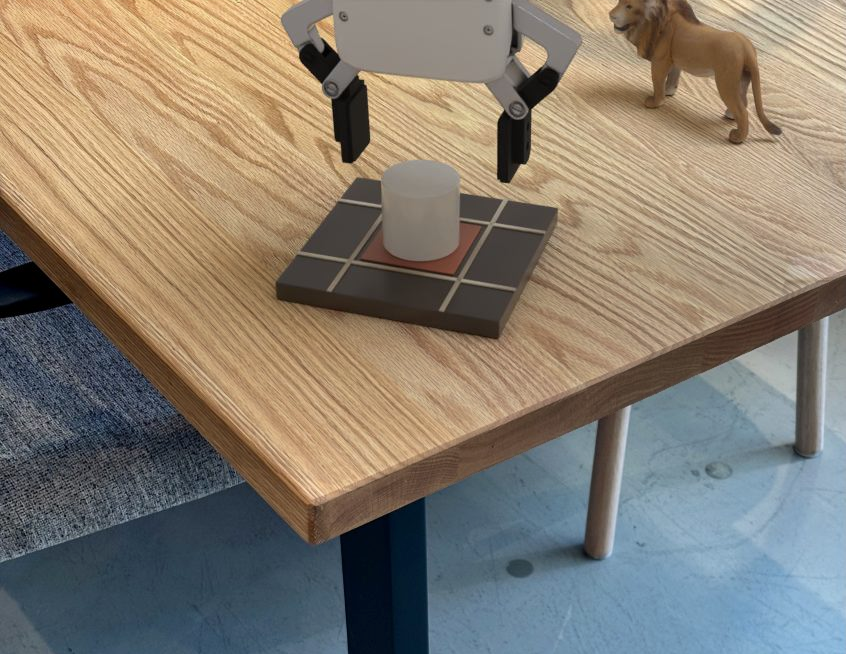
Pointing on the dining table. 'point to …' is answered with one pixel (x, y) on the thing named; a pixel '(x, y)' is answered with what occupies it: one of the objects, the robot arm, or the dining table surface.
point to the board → (421, 264)
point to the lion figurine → (692, 56)
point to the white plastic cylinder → (420, 210)
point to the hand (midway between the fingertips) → (432, 162)
